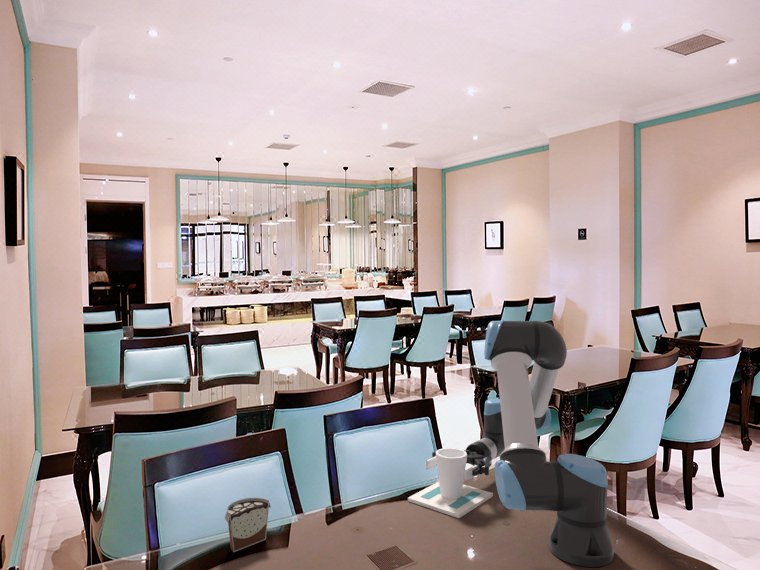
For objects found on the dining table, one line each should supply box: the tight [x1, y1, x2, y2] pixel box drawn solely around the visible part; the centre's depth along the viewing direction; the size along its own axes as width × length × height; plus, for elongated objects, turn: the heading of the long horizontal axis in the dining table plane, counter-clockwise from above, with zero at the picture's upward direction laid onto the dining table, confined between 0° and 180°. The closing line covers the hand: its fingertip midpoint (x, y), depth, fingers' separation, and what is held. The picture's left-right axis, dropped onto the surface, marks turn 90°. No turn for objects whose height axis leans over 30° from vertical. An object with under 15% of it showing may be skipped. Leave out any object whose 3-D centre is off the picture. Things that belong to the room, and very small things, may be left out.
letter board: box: [407, 481, 494, 519], centre depth 171 cm, size 18×20×1 cm
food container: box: [224, 497, 272, 553], centre depth 143 cm, size 12×6×10 cm, turn 134°
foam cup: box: [435, 447, 467, 499], centre depth 171 cm, size 10×9×13 cm
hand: (445, 470), depth 168 cm, fingers open, 13 cm apart
